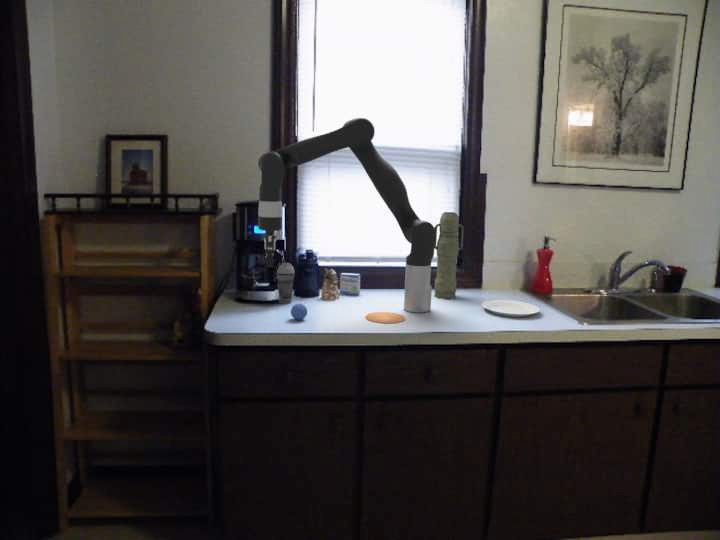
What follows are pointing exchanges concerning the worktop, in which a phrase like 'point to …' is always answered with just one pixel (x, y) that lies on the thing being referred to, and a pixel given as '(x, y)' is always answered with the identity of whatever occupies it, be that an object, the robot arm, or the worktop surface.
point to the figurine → (330, 286)
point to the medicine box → (349, 284)
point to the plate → (511, 308)
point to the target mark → (385, 317)
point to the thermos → (447, 254)
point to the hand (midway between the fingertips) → (269, 264)
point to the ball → (299, 311)
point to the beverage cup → (285, 282)
